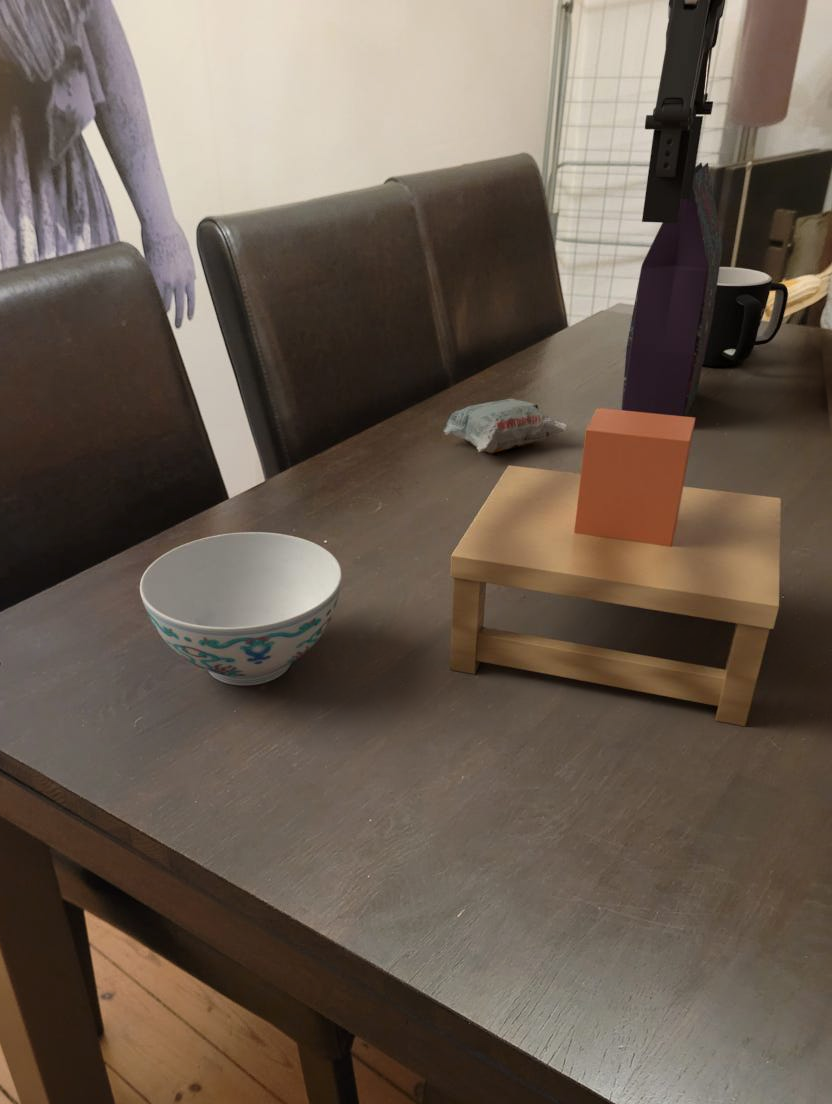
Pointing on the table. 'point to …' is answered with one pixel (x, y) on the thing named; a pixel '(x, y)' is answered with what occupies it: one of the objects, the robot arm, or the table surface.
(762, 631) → the wooden footstool
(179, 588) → the chinaware
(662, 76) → the robot arm
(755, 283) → the mug
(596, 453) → the small box
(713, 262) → the purple coffee bag
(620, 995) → the table surface
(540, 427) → the packaged food
